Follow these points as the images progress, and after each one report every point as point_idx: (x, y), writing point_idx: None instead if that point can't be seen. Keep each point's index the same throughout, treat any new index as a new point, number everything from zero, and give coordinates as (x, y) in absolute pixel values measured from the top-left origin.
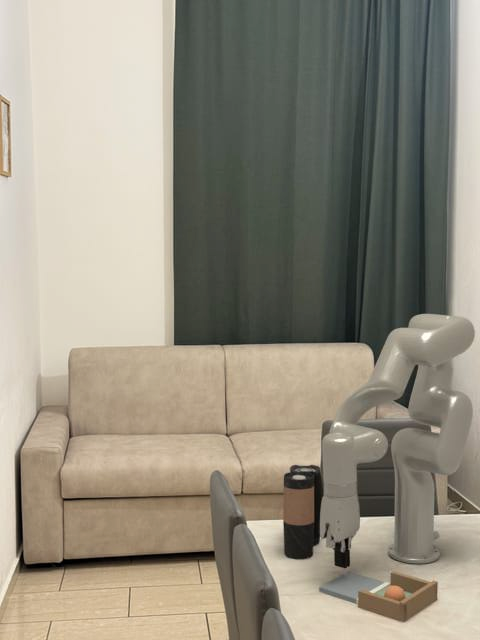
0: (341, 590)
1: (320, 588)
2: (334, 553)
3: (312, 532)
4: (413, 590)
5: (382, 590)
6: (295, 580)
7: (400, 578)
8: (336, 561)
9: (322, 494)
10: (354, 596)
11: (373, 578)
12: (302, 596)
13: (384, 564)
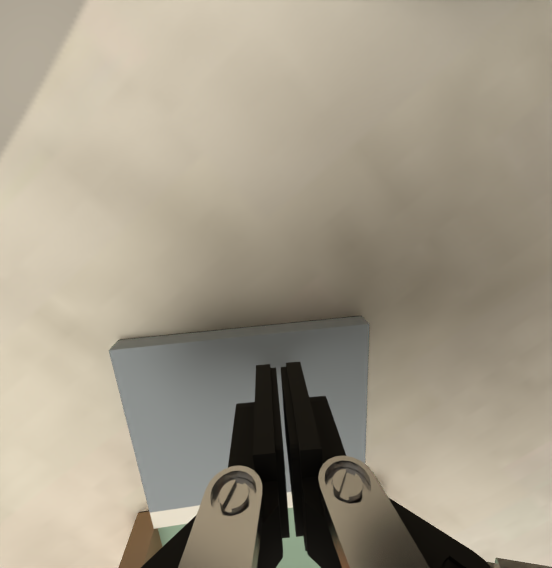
0: (165, 433)
1: (113, 354)
2: (255, 420)
3: None
4: None
5: None
6: (116, 165)
7: None
8: (236, 415)
9: None
10: (163, 494)
11: (363, 436)
12: (10, 324)
13: (546, 341)
